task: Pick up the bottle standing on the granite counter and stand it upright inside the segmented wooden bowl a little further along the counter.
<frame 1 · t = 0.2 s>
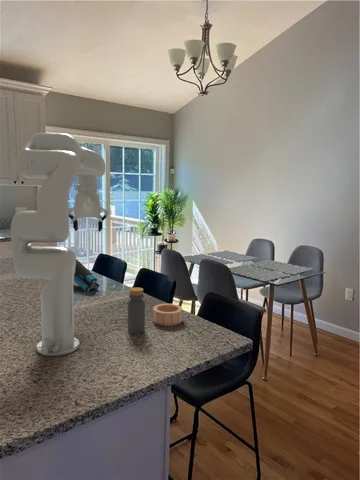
hand: (88, 230, 155), 31 cm above the kitchen island, tool pointing down, fingers open, 9 cm apart
bottle: (136, 331, 130), on the kitchen island
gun: (78, 286, 184), on the kitchen island
segmented wooden bowl: (167, 320, 140), on the kitchen island
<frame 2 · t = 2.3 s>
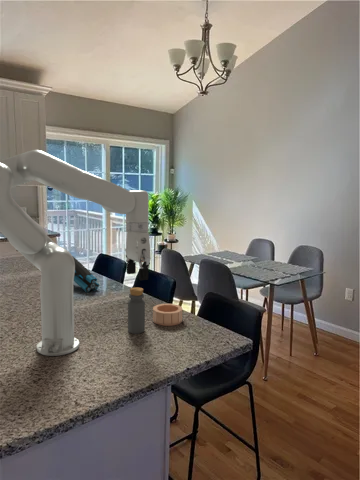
hand: (137, 276, 127), 19 cm above the kitchen island, tool pointing down, fingers open, 9 cm apart
nothing on the kitchen island moved.
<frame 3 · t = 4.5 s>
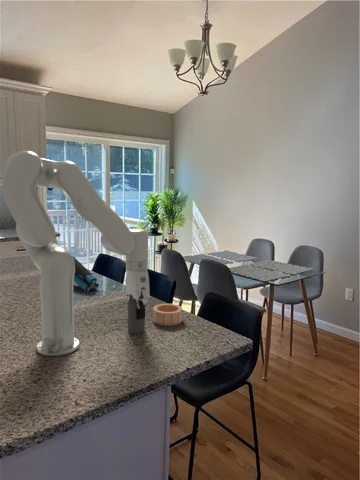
hand: (136, 315, 129), 6 cm above the kitchen island, tool pointing down, fingers closed on bottle, 5 cm apart
bottle: (136, 331, 130), on the kitchen island, touching gripper
everything else where it was.
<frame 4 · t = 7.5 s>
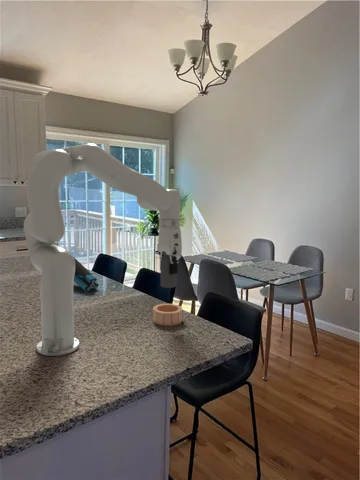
hand: (168, 271, 138), 19 cm above the kitchen island, tool pointing down, fingers closed on bottle, 5 cm apart
bottle: (168, 286, 139), point 13 cm above the kitchen island, touching gripper
everything else where it was.
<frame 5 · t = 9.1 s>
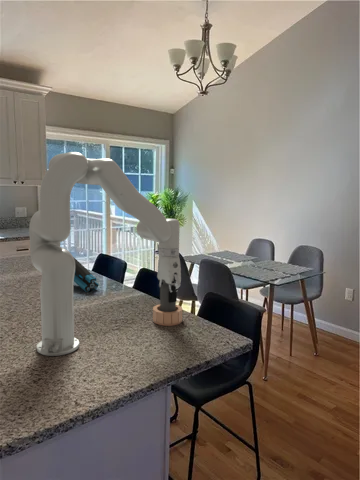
hand: (167, 299, 139), 8 cm above the kitchen island, tool pointing down, fingers closed on bottle, 5 cm apart
bottle: (167, 313, 140), point 3 cm above the kitchen island, touching gripper
everything else where it was.
when the fingers open (7 cm above the kitchen island, at t = 10.4 s): bottle stays where it is, resting on segmented wooden bowl.
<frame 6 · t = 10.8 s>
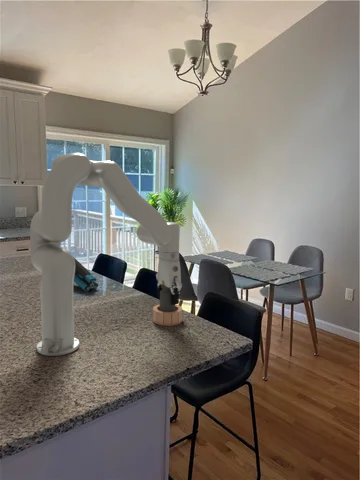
hand: (167, 300, 139), 8 cm above the kitchen island, tool pointing down, fingers open, 9 cm apart
bottle: (167, 319, 140), point 1 cm above the kitchen island, touching segmented wooden bowl
everything else where it was.
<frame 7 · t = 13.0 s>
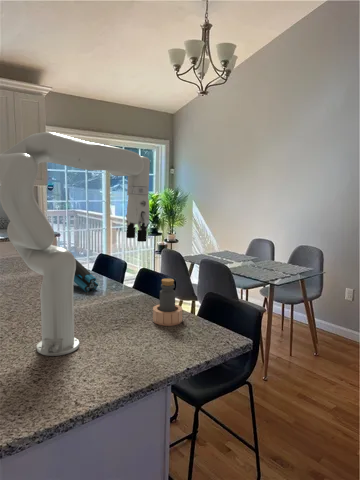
hand: (136, 239, 134), 31 cm above the kitchen island, tool pointing down, fingers open, 9 cm apart
nothing on the kitchen island moved.
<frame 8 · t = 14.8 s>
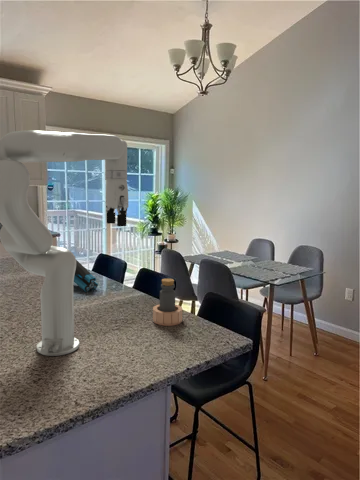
hand: (116, 224, 132), 36 cm above the kitchen island, tool pointing down, fingers open, 9 cm apart
at the end: bottle 0.1 cm off-centre on the segmented wooden bowl, point 0.6 cm above the segmented wooden bowl's base; bottle tilted 0°; the gripper is holding nothing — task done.
